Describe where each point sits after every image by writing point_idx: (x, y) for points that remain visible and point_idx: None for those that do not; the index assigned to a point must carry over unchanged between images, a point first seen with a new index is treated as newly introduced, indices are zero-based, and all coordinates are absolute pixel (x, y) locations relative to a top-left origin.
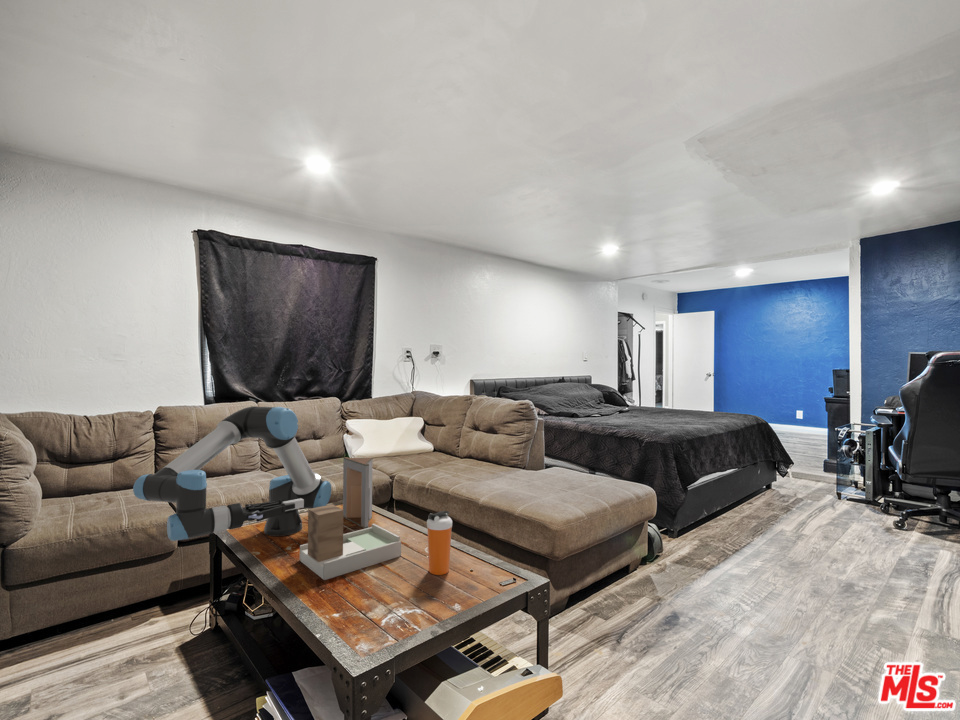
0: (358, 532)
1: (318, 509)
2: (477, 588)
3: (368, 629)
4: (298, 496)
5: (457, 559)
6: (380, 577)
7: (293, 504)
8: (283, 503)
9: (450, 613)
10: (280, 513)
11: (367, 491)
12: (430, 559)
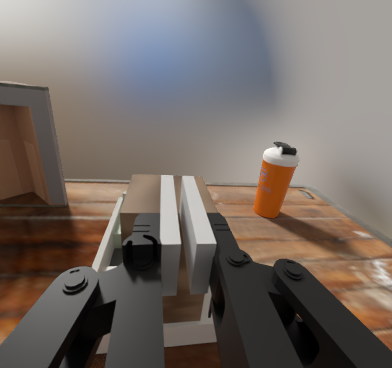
0: (118, 214)
1: (152, 199)
2: (317, 209)
3: None
4: None
5: (243, 194)
6: (263, 257)
7: (224, 219)
8: (179, 250)
9: (381, 243)
10: (315, 340)
11: (56, 144)
12: (275, 203)
